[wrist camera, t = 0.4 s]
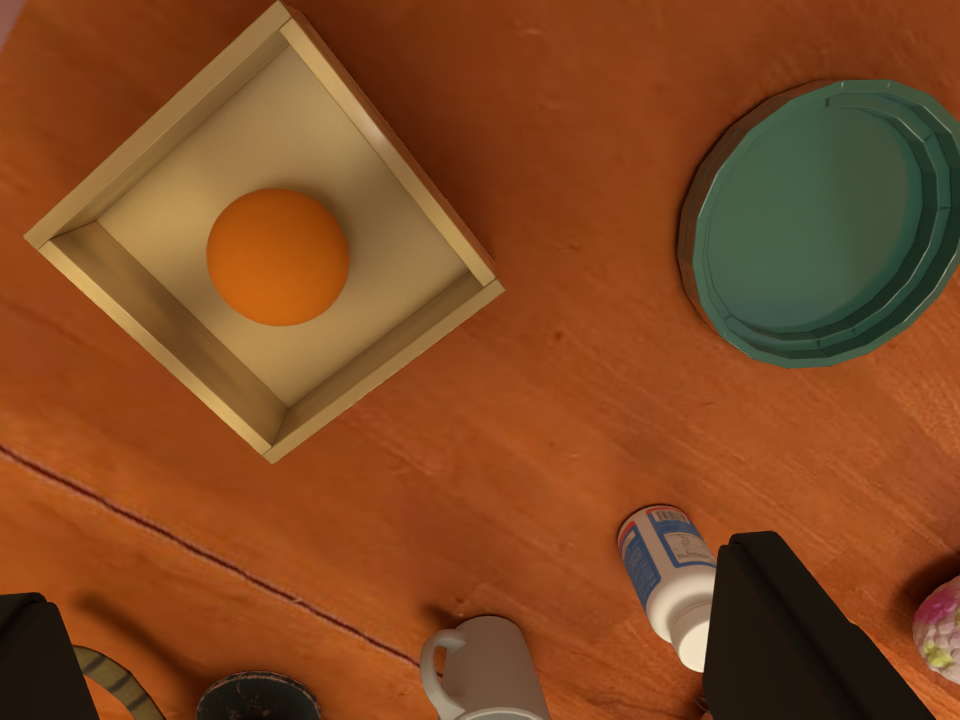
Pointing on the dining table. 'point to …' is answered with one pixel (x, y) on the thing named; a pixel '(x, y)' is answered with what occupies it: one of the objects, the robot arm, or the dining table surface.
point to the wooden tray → (254, 166)
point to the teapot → (209, 693)
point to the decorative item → (940, 630)
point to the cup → (483, 673)
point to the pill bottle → (671, 578)
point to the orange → (277, 257)
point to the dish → (824, 221)
